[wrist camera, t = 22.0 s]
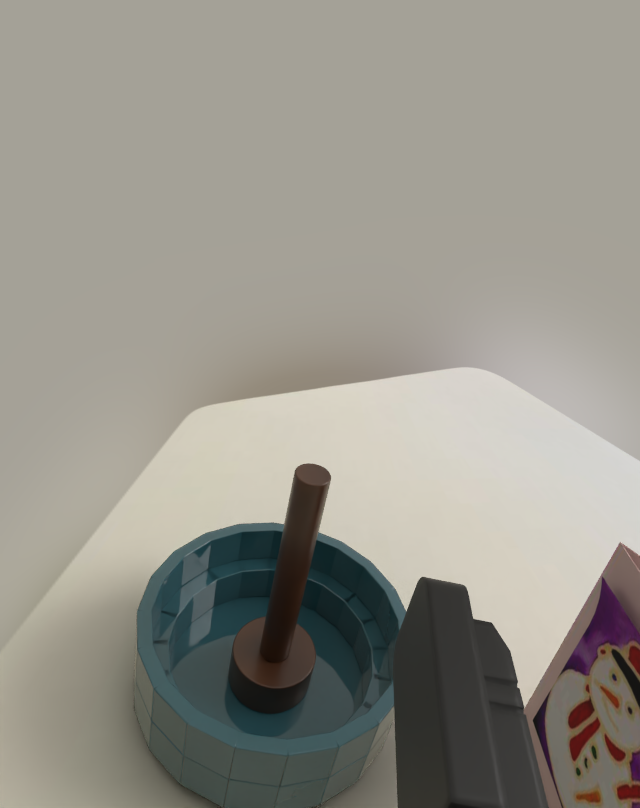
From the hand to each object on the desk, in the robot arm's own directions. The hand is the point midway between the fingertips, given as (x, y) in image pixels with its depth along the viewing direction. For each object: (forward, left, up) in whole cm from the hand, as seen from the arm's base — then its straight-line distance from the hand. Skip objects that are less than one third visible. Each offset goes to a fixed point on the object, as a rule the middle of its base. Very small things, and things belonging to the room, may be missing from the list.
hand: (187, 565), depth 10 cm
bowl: (+8, +14, -25) cm, 30 cm away
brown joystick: (+8, +14, -24) cm, 29 cm away
